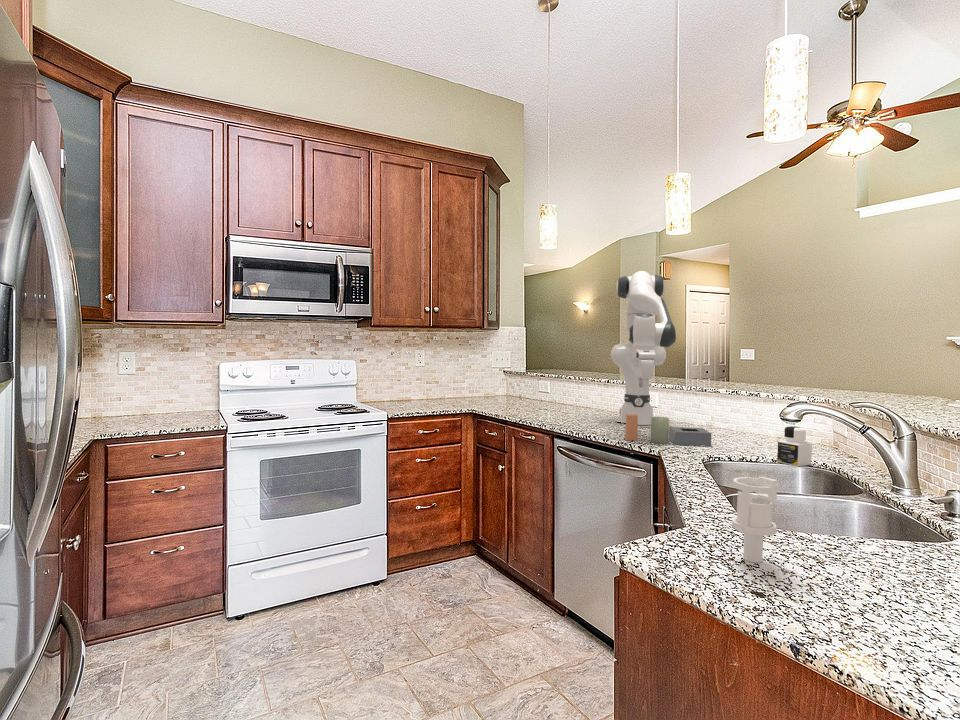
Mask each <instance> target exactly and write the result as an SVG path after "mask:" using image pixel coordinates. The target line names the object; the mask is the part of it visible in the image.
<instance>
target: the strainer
mask: <svg viewBox="0 0 960 720" xmlns="http://www.w3.org/2000/svg"><path fill="white" fill-rule="evenodd" d="M732 481H733V482H732V487H733V488H735V489H737V490H738V491H737V501H736V516H733V518H732V519H731V527H732V528H733V529H734V530H737V531H739V532H740V533H743V556H742V558H743V559H744V560H745V561H747V562H749V563H756V564H760V563H762V562H763V561H764V559H763V556H764V553H763V551H764V536H774V535H775V534H777V530H778V529H777V524H776V523H775V522H773V502H776V501H777V499H778V498H777V497H778V496H777V495H778V492H779V484H778V479H773V478H768V477H767V476H759V477H744V476H743V477H742V476H741V477H734V478H733V479H732ZM754 492H755V494H757V495H756V496H757V497H753V493H754ZM771 501H772V502H771Z"/></svg>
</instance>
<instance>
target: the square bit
mask: <svg viewBox="0 0 960 720" xmlns="http://www.w3.org/2000/svg"><path fill="white" fill-rule="evenodd" d="M624 425H625V427H624V430H625V432H624V437H625V438H626V439H625V438H624V439H625V440H626V441H630V440H637V441H638V426H639V425H638V416H637V415H636V414H626V424H624Z"/></svg>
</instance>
